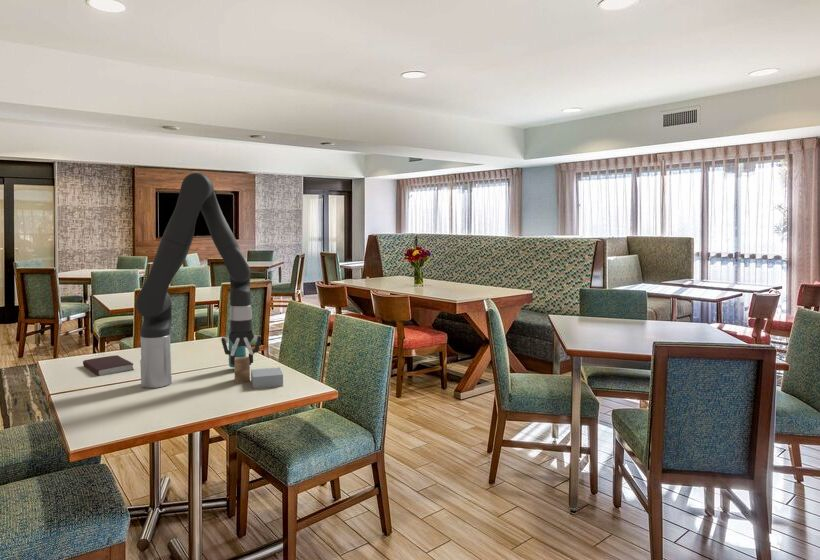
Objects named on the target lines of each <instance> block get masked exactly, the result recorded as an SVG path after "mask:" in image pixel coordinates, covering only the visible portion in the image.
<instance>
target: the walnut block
mask: <svg viewBox="0 0 820 560" xmlns="http://www.w3.org/2000/svg"><path fill="white" fill-rule="evenodd" d="M233 370H234V372H233V373H234V384H240V383H241V384H242V383H251V365H250V360H249V356H246V357H235V366H234V368H233Z"/></svg>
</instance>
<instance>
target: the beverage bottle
mask: <svg viewBox="0 0 820 560" xmlns="http://www.w3.org/2000/svg"><path fill="white" fill-rule="evenodd" d="M227 332H228V333H227V334H228V335H227V337H228V336H229V334H230V327H229V328H228V329H227ZM232 346H233V343H232V342H231V340H230V339H229V340H228V345H227V348H228V350H229V351H231V349H232ZM246 350H247V346H240V347H237V348H236V350H235V353H234V355H235V357H247V351H246ZM228 366H229V367H230V368H232V369H234V366H233V365H231V363H230V355H228Z"/></svg>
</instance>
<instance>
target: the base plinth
mask: <svg viewBox="0 0 820 560" xmlns="http://www.w3.org/2000/svg"><path fill="white" fill-rule="evenodd" d="M250 383H251V385H252V389H264V388H275V387H283V386H284V374H283V372H282V370H281V367H268V368H256V369H253V368H252V369H250Z"/></svg>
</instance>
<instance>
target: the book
mask: <svg viewBox="0 0 820 560" xmlns="http://www.w3.org/2000/svg"><path fill="white" fill-rule="evenodd" d="M82 365H83V367H84V368H86V369H87V370H88V371H90V372H92V373H93V374H95V375H96V376H97V377H101V376H105V375H106V376H107V375H115V374H119V373H125V372H131V371H135V369H134V363H133V362H132V361H130V360H127V359H125V358H123V357H122V356H120V355H108V356H101V357H94V358H90V359H84V360H83V361H82Z"/></svg>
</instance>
